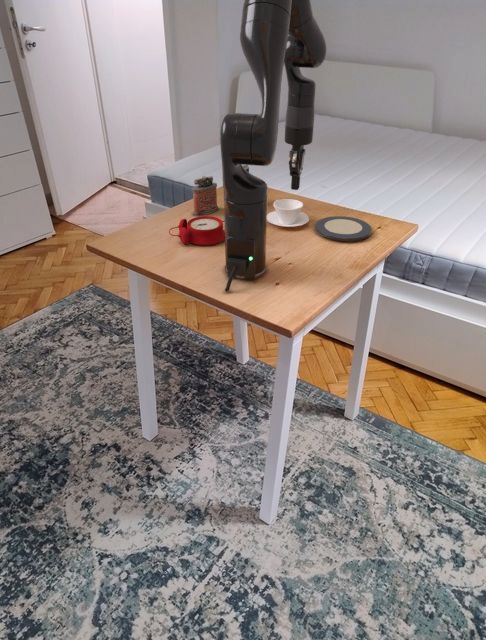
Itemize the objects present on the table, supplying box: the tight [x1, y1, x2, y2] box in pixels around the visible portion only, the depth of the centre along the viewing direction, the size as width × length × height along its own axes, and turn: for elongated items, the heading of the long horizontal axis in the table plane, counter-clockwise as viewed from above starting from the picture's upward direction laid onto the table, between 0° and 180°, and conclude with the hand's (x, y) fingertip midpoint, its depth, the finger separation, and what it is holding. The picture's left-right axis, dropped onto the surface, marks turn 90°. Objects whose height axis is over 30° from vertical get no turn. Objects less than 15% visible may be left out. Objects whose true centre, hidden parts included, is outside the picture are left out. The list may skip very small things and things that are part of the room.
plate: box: [314, 215, 373, 242], centre depth 130 cm, size 15×15×1 cm
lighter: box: [191, 175, 219, 217], centre depth 138 cm, size 8×3×10 cm, turn 133°
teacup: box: [267, 198, 310, 228], centre depth 133 cm, size 12×12×5 cm
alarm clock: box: [168, 215, 225, 246], centre depth 125 cm, size 10×6×15 cm
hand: (295, 188), depth 138 cm, fingers closed
